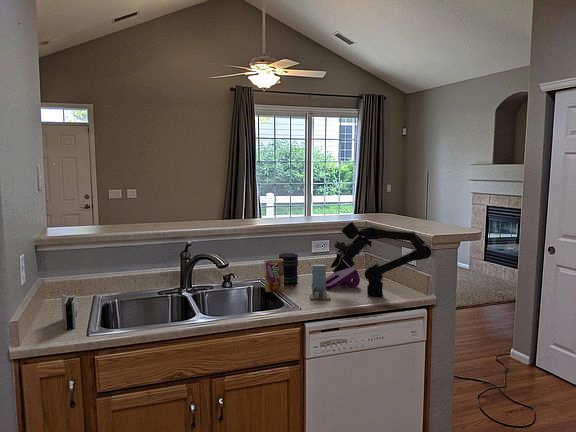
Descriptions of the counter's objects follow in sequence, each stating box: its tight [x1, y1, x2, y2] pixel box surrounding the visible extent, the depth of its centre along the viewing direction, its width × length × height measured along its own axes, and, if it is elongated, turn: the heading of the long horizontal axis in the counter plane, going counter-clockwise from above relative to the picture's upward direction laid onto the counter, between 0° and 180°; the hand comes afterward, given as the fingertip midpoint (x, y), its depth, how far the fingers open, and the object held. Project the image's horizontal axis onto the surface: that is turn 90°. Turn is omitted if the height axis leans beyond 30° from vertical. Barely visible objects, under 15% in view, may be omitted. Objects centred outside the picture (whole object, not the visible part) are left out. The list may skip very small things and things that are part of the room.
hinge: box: [60, 294, 79, 331], centre depth 169 cm, size 14×5×10 cm, turn 31°
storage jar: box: [278, 252, 299, 287], centre depth 226 cm, size 10×10×15 cm
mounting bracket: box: [326, 266, 361, 291], centre depth 221 cm, size 10×8×18 cm
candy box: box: [264, 258, 285, 293], centre depth 213 cm, size 9×4×15 cm, turn 104°
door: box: [311, 263, 327, 294], centre depth 208 cm, size 6×3×14 cm, turn 92°
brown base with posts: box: [309, 288, 332, 302], centre depth 202 cm, size 9×6×4 cm
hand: (332, 269), depth 208 cm, fingers open, 9 cm apart
